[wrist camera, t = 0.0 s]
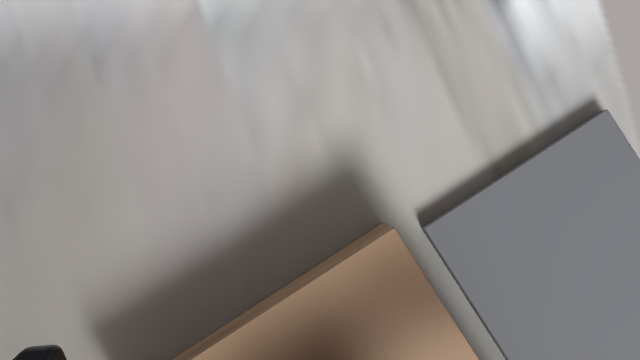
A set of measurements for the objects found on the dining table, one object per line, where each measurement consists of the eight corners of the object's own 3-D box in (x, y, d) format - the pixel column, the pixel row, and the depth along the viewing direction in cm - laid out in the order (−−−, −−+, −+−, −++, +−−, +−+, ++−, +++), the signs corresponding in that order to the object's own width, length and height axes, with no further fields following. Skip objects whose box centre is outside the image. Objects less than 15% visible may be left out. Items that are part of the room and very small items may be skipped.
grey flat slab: (786, 403, 23) (799, 409, 23) (610, 522, 23) (618, 531, 23) (599, 111, 23) (607, 109, 23) (421, 227, 23) (424, 228, 22)
